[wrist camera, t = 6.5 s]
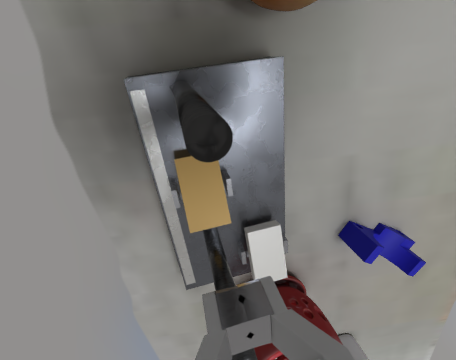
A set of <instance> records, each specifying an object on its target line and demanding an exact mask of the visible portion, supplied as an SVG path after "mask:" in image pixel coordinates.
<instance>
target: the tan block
mask: <svg viewBox="0 0 456 360" xmlns="http://www.w3.org/2000/svg"><path fill="white" fill-rule="evenodd" d="M174 161H175V166H176V171H177V175H178V180H179V184H180V189H181V192H180V196H181V200H183V203H184V207H185V212H186V217H187V221H188V226H189V230H190V233H193V232H198V231H202V230H206V229H210V228H214V227H218V226H222V225H226V224H230V223H231V218H230V213H229V209H228V204H227V199H226V194H225V187H224V183H223V180H222V175H221V171H220V166H219V161H218V160H217V161H214V162H202V161H199V160H197V159H195V158H194V157H192V156H190V157H184V158H179V159H174Z"/></svg>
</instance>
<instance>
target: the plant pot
mask: <svg viewBox="0 0 456 360" xmlns="http://www.w3.org/2000/svg"><path fill="white" fill-rule="evenodd" d="M287 277H288V278H284V279H281V280H277V281H274V283H275V285H276V287H277V289H278V291H279V293H280V295H281V297H282V299H283V301H284V303H285V305H286V307H287V309H288V310H289V309H292V310H293V311H295V312H296V313H298V314H299V315H300V316H302V317H303V318H305V319H306V320H308V321H309V322H310V323H312V324H313V325H315V326H316V327H318V328H319V329H320V330H322V331H323V332H325V333H326V334H328V335H329V336H331V337H332V338H333V339H335V340H336V341H338V342H339V343H341V344H342V342H341V340H340V339H339V337H338V335H337V334H336V332H335V330H334V329H333V327H332V326H331V324H330V323H329V321H328V320H327V318H326V317H325V315H324V314H323V312H322V311H321V310H320V309H319V307H318V306H317V305H316V304H315V303H314V302H313V301H312V300H311V299H310V298H309V297H308V296H307V295H306V289H305V286H304V285H303V283H302V282H301V281H300V280H298V279H297V278H295V277H293V276H290V275H287ZM342 345H343V344H342ZM254 350H255V353H256V356H257V359H258V360H274V359H275V358H277V359H276V360H289V359H288V358H287V357H286V356H285V355H284V354H283V353H282V352H281V351H280V350H278V349H277V348H276V347H275V346H274V345H273V343H269V344H265V345H262V346H259V347H255V348H254Z"/></svg>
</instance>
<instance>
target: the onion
mask: <svg viewBox="0 0 456 360" xmlns="http://www.w3.org/2000/svg"><path fill="white" fill-rule="evenodd" d="M251 1H252V2H254V3H255V4H257V5H259V6H261V7H264V8H267V9H271V10H277V11H292V10H298V9H301V8H303V7H305V6H308V5H310V4H311V3H313V2H315V1H317V0H251Z"/></svg>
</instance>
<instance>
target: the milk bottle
mask: <svg viewBox="0 0 456 360" xmlns="http://www.w3.org/2000/svg"><path fill="white" fill-rule="evenodd" d="M338 337H339V339H340V340H341V342H342V344H343V346H345V347H346V348H347V349H348V350H349V352H350V353H351V355H352V357H353V358H354V360H369V359H368V357H367V356H366V354H365V353H364V352H363V350H362V349H361V347H360V346H359V344H358V343H357V341H356V340H355V339H354V337H353V336H351V335H349V334H343V335H340V336H338Z"/></svg>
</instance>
